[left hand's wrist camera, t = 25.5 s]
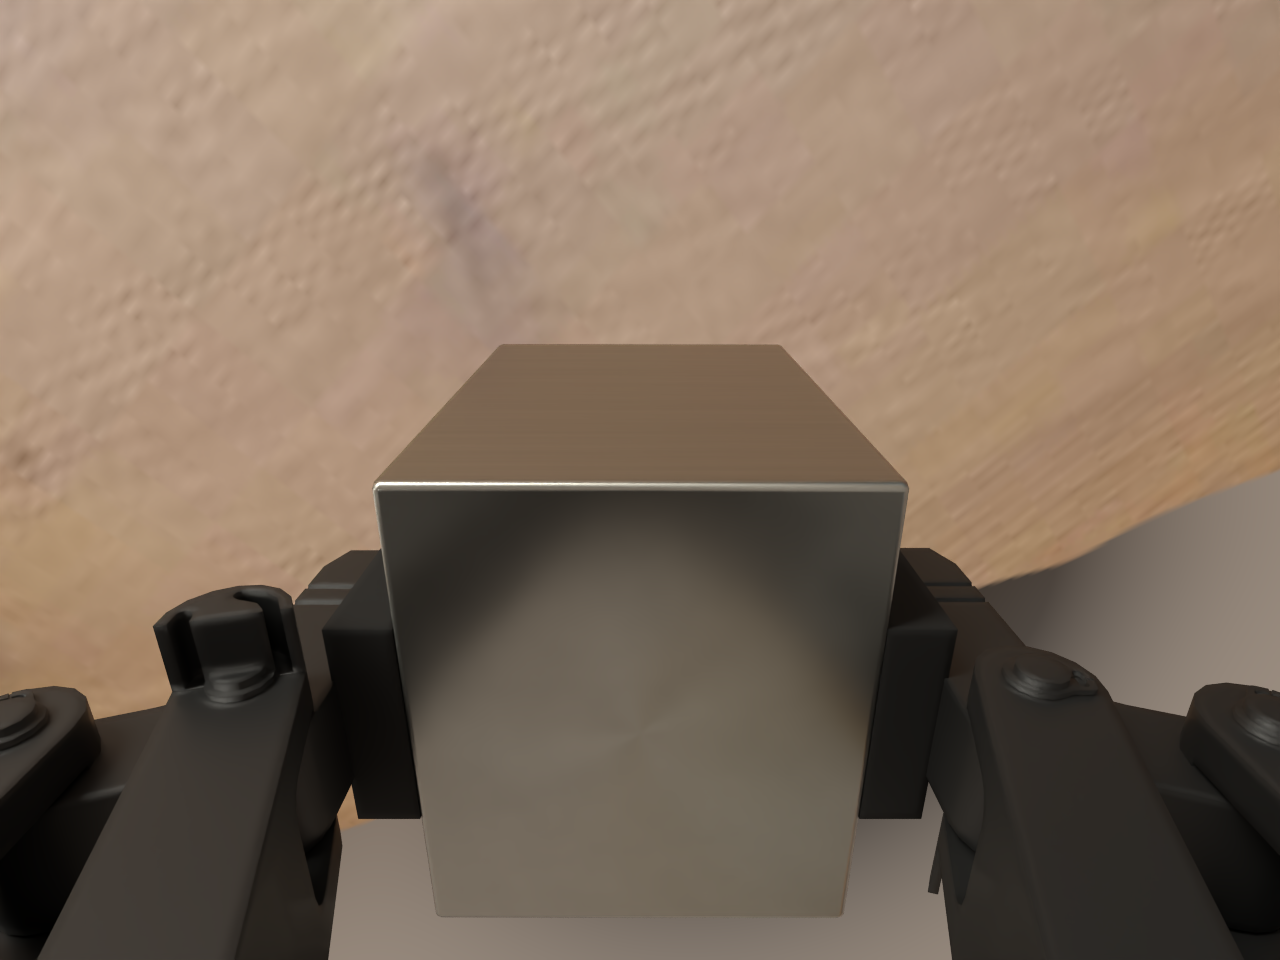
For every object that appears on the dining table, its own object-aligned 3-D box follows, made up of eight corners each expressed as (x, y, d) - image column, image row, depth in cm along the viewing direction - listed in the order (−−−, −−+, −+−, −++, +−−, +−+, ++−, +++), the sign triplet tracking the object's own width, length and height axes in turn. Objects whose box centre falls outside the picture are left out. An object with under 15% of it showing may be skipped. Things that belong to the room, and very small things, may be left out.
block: (761, 621, 16) (845, 921, 9) (518, 621, 16) (434, 920, 9) (782, 343, 14) (913, 484, 7) (498, 343, 13) (367, 482, 7)
